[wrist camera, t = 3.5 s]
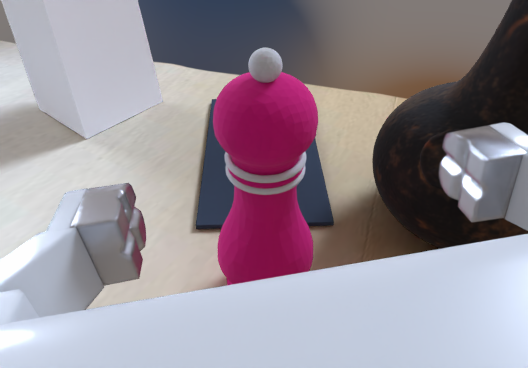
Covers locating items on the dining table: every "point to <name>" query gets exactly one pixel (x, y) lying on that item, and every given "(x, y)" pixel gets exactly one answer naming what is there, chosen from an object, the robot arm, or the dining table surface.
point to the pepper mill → (265, 170)
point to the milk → (85, 60)
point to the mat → (222, 190)
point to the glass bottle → (446, 121)
